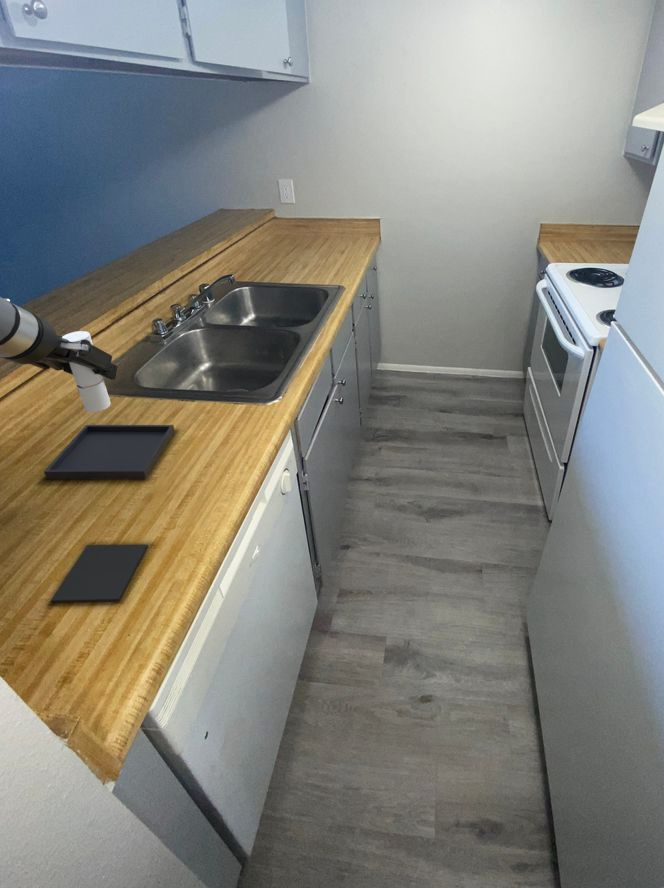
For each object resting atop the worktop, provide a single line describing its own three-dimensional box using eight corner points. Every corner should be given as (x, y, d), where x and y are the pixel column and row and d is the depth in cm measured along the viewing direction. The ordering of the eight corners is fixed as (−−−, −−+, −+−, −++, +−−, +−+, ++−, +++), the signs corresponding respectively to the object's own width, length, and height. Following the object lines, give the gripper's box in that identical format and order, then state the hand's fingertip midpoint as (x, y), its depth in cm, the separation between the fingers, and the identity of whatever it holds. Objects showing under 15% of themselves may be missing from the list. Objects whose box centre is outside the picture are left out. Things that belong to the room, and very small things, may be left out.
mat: (51, 602, 71) (50, 600, 71) (87, 547, 80) (86, 545, 80) (119, 601, 72) (118, 599, 72) (148, 546, 81) (147, 544, 80)
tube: (113, 399, 93) (93, 330, 86) (105, 411, 89) (83, 341, 82) (90, 400, 92) (67, 331, 85) (80, 413, 89) (56, 342, 82)
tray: (46, 479, 94) (43, 471, 93) (88, 431, 107) (86, 424, 106) (145, 478, 95) (143, 471, 94) (175, 431, 108) (173, 424, 107)
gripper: (80, 310, 71) (149, 354, 93) (-42, 309, 70) (58, 354, 92) (70, 358, 69) (144, 391, 91) (-56, 357, 68) (50, 391, 90)
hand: (100, 372), depth 92 cm, fingers closed on tube, 4 cm apart
